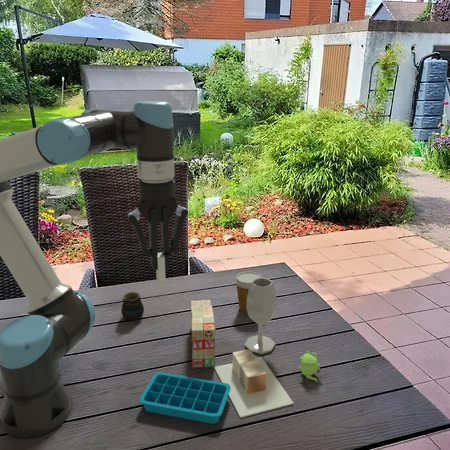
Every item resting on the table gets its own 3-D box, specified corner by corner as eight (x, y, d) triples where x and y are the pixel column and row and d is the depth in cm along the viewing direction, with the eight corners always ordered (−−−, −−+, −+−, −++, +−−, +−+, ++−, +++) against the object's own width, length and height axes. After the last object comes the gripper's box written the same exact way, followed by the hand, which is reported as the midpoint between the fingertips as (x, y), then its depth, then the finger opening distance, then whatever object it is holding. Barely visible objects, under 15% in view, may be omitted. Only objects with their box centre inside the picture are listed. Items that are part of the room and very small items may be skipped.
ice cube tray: (156, 381, 118) (156, 371, 117) (231, 394, 113) (231, 384, 112) (138, 412, 107) (137, 402, 106) (220, 428, 102) (220, 417, 101)
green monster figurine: (317, 383, 117) (319, 365, 115) (297, 379, 119) (298, 361, 117) (320, 369, 123) (321, 351, 121) (300, 365, 124) (302, 347, 122)
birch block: (248, 377, 111) (232, 352, 120) (247, 394, 112) (232, 368, 122) (266, 373, 112) (249, 348, 122) (265, 389, 114) (249, 364, 124)
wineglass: (280, 345, 133) (284, 281, 126) (262, 358, 127) (264, 292, 120) (257, 334, 138) (259, 272, 131) (239, 346, 132) (240, 282, 125)
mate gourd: (145, 311, 151) (144, 285, 147) (142, 323, 144) (140, 296, 140) (124, 311, 150) (122, 285, 147) (119, 324, 143) (117, 296, 140)
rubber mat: (240, 418, 105) (240, 416, 105) (214, 368, 123) (214, 367, 123) (293, 404, 110) (293, 402, 110) (261, 358, 127) (261, 356, 127)
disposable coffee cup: (267, 306, 154) (268, 275, 150) (253, 319, 147) (254, 286, 143) (243, 299, 159) (244, 268, 155) (229, 310, 151) (229, 278, 147)
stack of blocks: (191, 326, 143) (190, 291, 139) (211, 325, 143) (210, 290, 139) (192, 368, 123) (191, 329, 118) (215, 367, 123) (215, 328, 119)
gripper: (127, 185, 87) (134, 293, 95) (191, 180, 91) (193, 284, 99) (122, 177, 94) (129, 278, 102) (182, 172, 98) (185, 270, 106)
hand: (161, 281), depth 100 cm, fingers closed
